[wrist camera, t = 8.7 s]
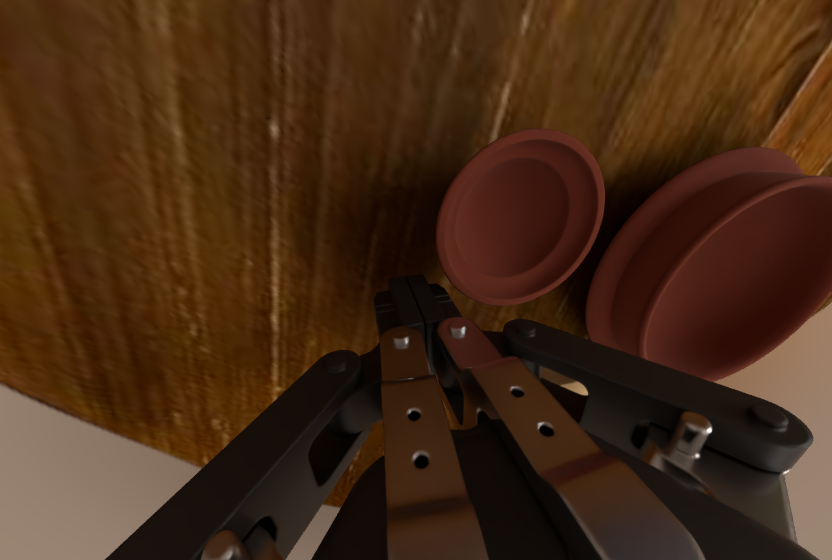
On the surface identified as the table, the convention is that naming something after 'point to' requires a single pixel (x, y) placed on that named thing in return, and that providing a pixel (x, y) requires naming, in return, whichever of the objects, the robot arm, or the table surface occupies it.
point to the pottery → (647, 248)
